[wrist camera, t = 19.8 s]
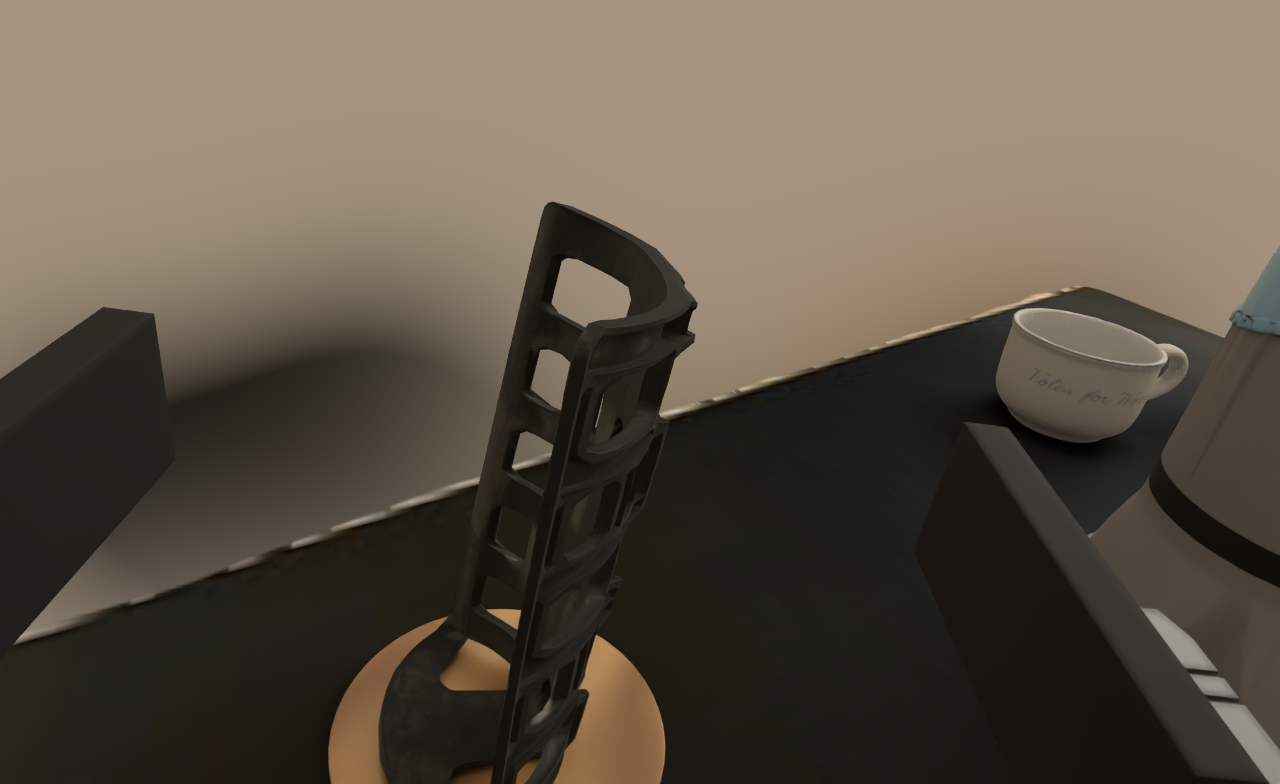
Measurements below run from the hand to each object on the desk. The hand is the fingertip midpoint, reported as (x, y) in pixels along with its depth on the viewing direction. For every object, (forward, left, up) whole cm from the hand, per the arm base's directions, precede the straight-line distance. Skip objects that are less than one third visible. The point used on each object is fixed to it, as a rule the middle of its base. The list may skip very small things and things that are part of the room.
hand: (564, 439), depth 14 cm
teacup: (-39, -45, -21) cm, 63 cm away
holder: (+1, -11, -21) cm, 23 cm away
